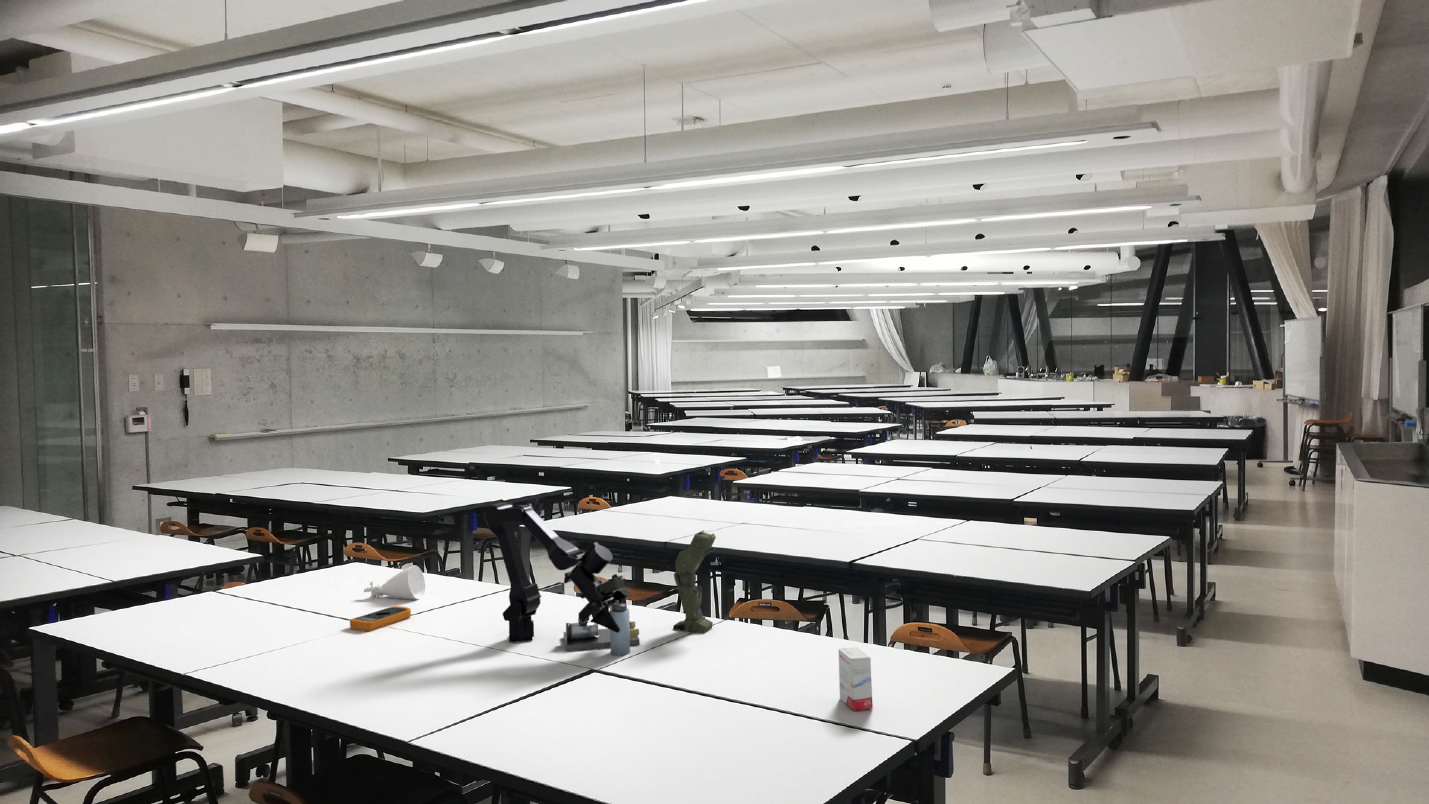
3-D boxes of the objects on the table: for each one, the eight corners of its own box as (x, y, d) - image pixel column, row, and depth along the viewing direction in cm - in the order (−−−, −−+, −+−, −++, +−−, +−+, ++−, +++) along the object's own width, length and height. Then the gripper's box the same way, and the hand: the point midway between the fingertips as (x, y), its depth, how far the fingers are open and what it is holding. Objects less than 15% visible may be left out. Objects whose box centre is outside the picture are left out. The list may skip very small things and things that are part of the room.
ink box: (873, 709, 207) (872, 657, 207) (852, 712, 206) (851, 659, 206) (858, 696, 216) (858, 646, 215) (838, 698, 215) (837, 647, 214)
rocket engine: (361, 570, 315) (410, 559, 312) (378, 585, 324) (426, 574, 321) (356, 601, 307) (406, 590, 305) (374, 616, 316) (423, 605, 314)
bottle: (611, 656, 248) (610, 608, 248) (609, 650, 253) (608, 603, 253) (631, 654, 249) (630, 606, 249) (628, 648, 254) (627, 601, 254)
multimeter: (414, 618, 290) (414, 607, 290) (368, 633, 274) (367, 622, 274) (394, 615, 294) (394, 604, 294) (348, 630, 278) (347, 618, 278)
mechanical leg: (659, 626, 272) (680, 528, 268) (670, 619, 279) (690, 524, 275) (702, 641, 268) (723, 542, 264) (711, 634, 274) (732, 538, 270)
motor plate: (566, 651, 253) (566, 625, 253) (563, 637, 266) (563, 613, 266) (641, 644, 258) (640, 619, 257) (634, 631, 270) (634, 607, 270)
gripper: (587, 573, 243) (624, 619, 239) (623, 558, 260) (659, 601, 256) (562, 600, 247) (598, 645, 243) (600, 584, 264) (634, 626, 260)
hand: (624, 628), depth 250 cm, fingers closed on bottle, 5 cm apart
